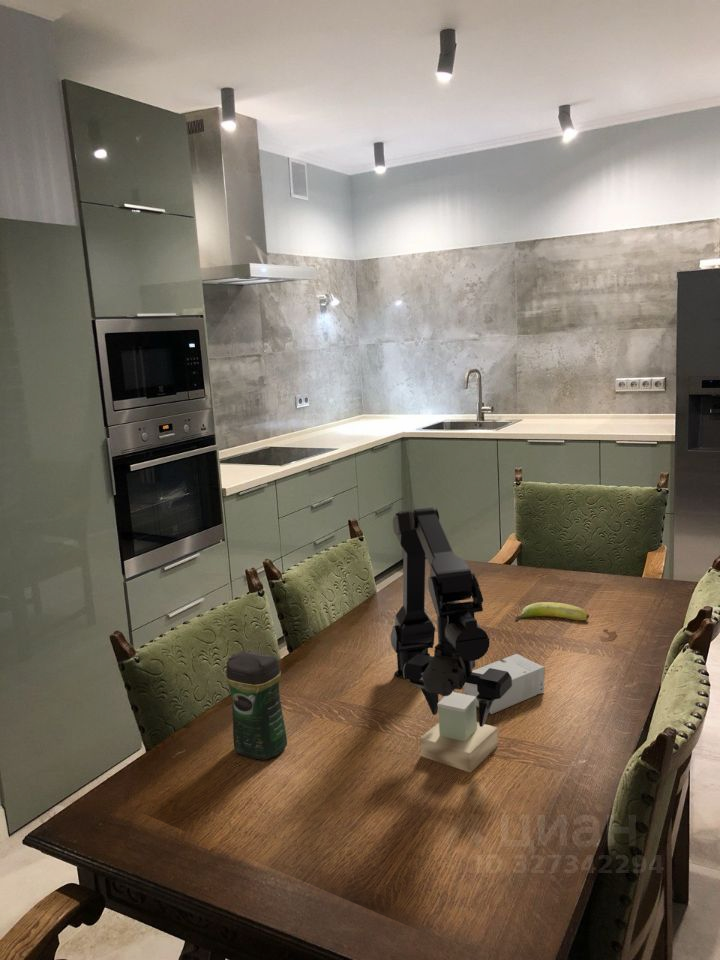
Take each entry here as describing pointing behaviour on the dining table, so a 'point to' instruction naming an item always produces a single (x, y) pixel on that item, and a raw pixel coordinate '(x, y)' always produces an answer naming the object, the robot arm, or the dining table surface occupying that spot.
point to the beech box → (459, 747)
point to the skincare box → (513, 681)
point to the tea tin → (457, 716)
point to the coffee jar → (256, 705)
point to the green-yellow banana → (560, 614)
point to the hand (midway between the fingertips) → (458, 719)
